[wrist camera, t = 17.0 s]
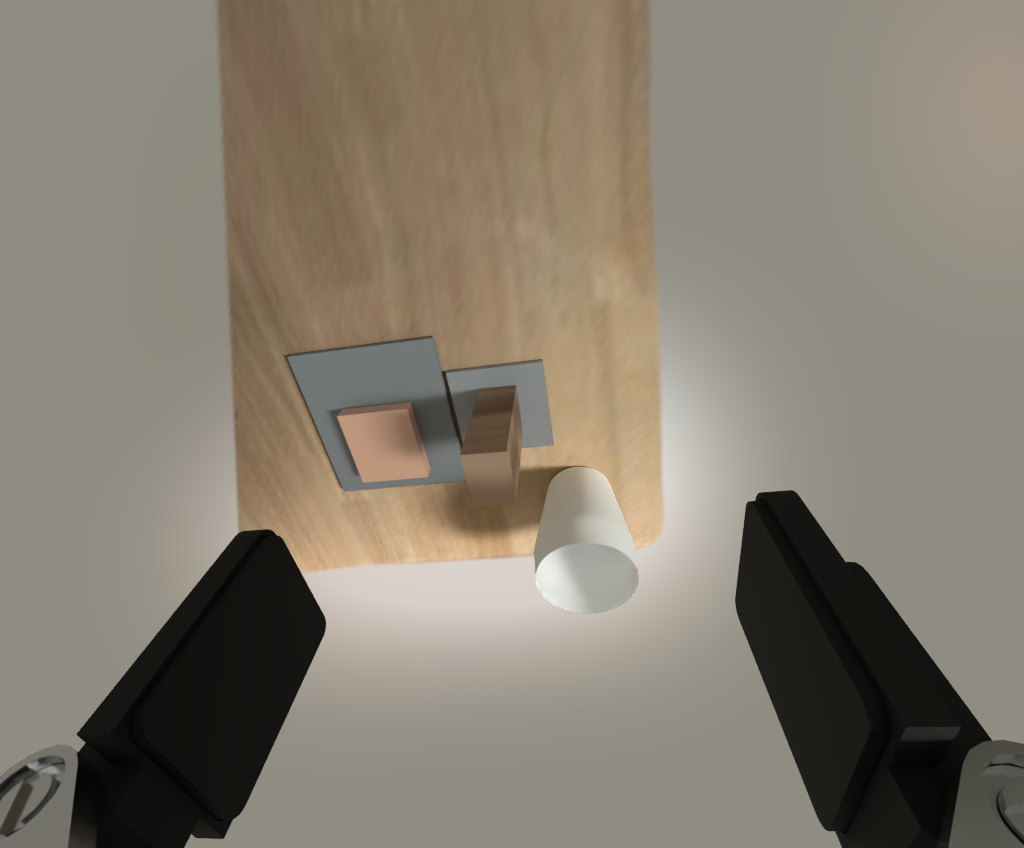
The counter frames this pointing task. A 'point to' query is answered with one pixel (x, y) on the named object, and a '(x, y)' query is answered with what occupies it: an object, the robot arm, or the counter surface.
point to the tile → (385, 442)
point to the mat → (381, 402)
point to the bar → (493, 447)
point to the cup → (584, 545)
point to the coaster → (519, 373)
